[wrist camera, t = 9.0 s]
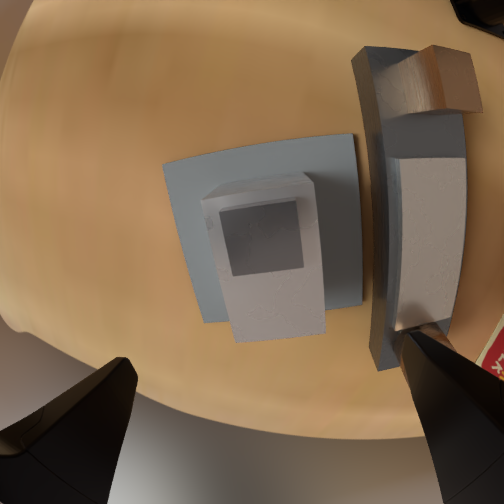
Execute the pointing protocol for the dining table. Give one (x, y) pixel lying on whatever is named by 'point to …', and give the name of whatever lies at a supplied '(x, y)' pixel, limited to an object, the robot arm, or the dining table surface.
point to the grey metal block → (268, 256)
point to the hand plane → (415, 188)
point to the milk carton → (494, 352)
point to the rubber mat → (262, 165)
